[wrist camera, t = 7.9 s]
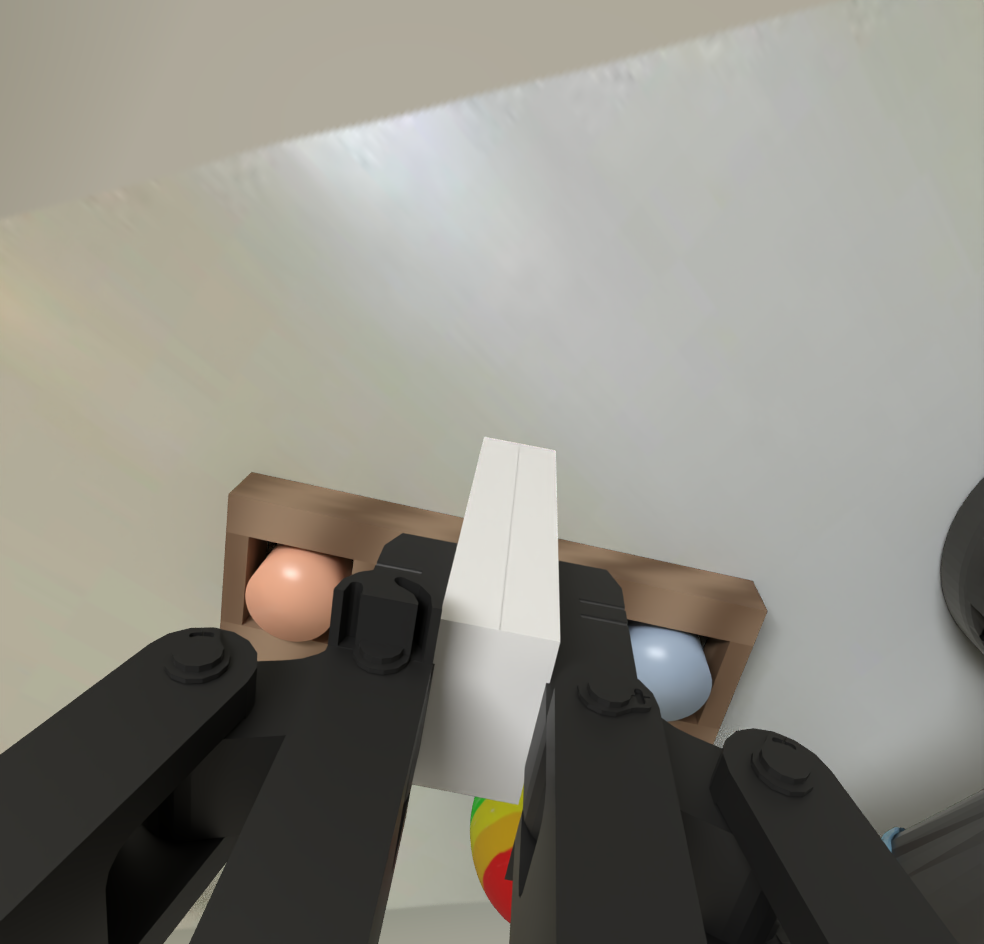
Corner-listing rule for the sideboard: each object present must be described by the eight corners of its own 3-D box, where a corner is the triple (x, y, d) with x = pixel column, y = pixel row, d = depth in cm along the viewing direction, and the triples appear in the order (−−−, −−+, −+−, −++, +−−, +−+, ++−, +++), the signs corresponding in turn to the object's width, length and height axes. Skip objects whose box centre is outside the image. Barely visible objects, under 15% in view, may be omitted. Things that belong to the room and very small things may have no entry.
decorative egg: (454, 749, 46) (427, 894, 36) (569, 704, 44) (572, 845, 34) (516, 837, 48) (506, 994, 39) (628, 798, 46) (646, 954, 37)
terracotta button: (358, 540, 40) (340, 573, 37) (348, 612, 42) (330, 649, 39) (274, 522, 40) (248, 553, 37) (268, 594, 42) (242, 631, 39)
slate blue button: (710, 616, 40) (724, 657, 37) (684, 685, 42) (695, 729, 39) (625, 598, 40) (632, 637, 37) (603, 667, 42) (607, 710, 39)
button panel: (752, 581, 39) (767, 611, 37) (697, 722, 43) (706, 759, 40) (251, 472, 39) (228, 494, 37) (240, 622, 43) (218, 653, 40)
